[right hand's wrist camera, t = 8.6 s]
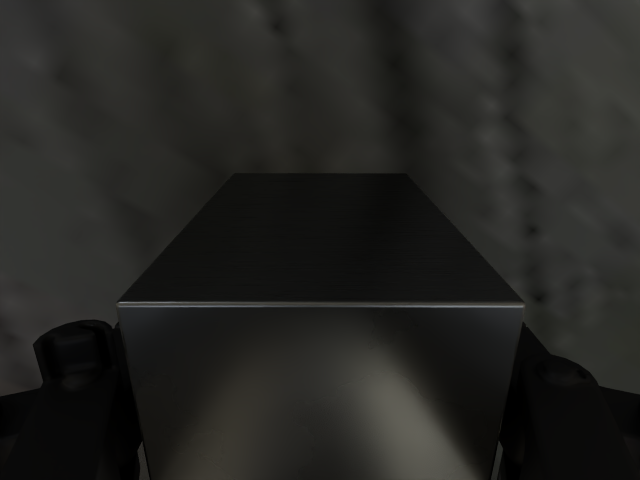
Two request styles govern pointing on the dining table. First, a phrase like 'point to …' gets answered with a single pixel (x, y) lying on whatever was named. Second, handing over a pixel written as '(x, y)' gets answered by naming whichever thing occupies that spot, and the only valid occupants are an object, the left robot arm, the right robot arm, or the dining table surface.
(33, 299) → the dining table surface
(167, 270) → the box
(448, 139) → the dining table surface
